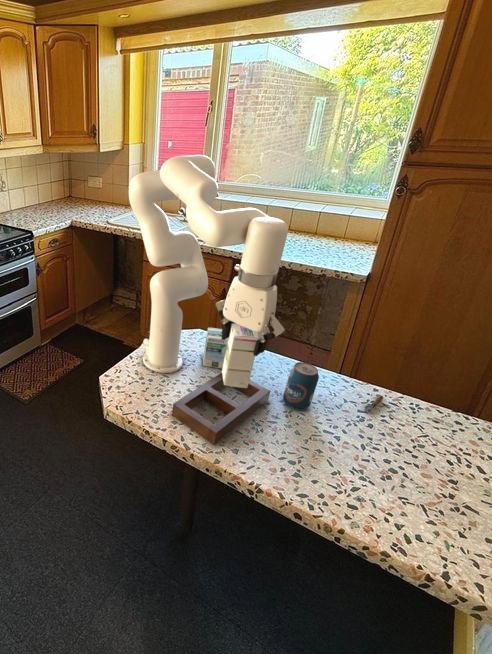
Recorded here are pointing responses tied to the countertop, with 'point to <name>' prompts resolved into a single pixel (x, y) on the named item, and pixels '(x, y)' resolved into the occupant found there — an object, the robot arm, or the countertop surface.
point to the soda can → (301, 386)
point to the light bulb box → (214, 348)
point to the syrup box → (239, 356)
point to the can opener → (374, 403)
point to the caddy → (219, 408)
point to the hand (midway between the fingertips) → (241, 344)
